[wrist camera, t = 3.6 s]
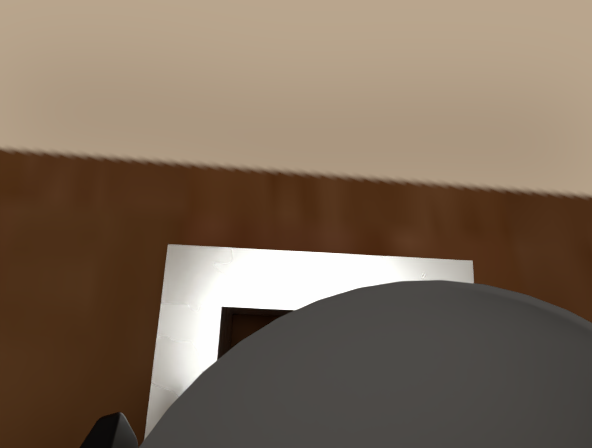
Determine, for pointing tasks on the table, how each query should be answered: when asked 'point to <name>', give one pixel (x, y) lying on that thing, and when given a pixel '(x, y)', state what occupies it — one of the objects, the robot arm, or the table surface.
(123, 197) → the table surface
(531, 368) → the plug
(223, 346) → the housing
